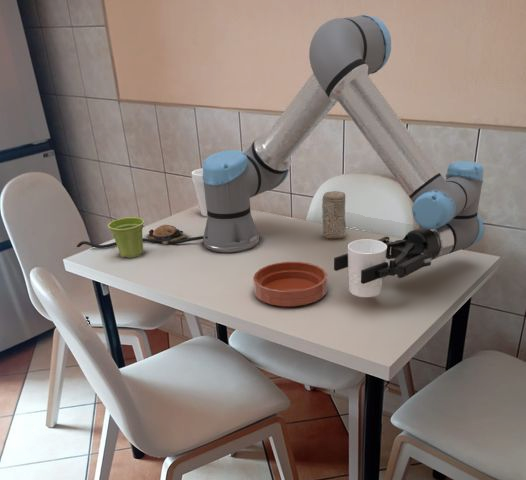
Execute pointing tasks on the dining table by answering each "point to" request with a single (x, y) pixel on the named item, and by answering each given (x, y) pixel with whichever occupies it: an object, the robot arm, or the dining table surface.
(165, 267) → the dining table surface
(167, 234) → the brown domed piece
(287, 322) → the dining table surface
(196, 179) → the foam cup
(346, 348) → the dining table surface
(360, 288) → the white cup
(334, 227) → the carving
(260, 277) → the bowl
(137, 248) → the plant pot
